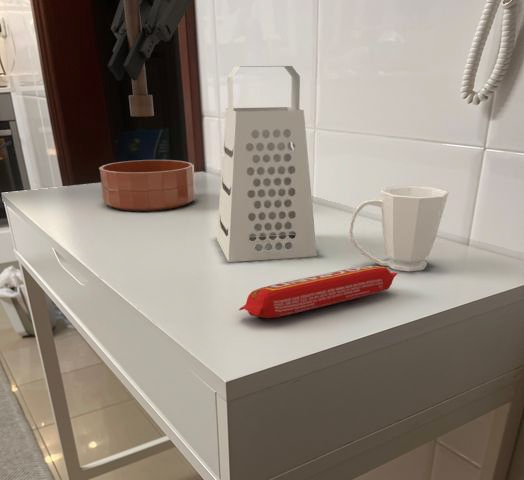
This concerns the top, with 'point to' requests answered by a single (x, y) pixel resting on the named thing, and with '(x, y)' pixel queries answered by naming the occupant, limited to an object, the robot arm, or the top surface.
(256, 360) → the top surface
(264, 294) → the candy bar
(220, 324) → the top surface
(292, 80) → the grater
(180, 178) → the bowl
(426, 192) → the cup
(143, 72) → the wooden pestle
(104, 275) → the top surface
